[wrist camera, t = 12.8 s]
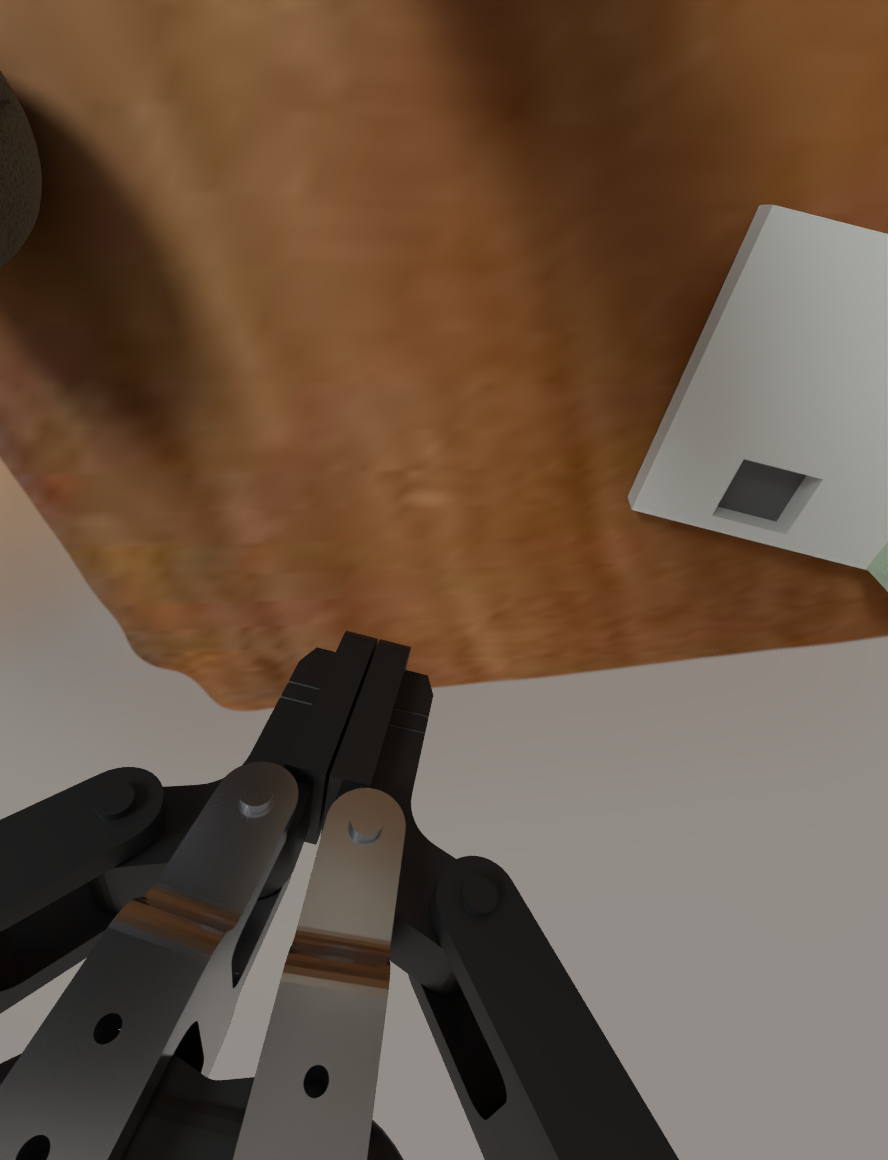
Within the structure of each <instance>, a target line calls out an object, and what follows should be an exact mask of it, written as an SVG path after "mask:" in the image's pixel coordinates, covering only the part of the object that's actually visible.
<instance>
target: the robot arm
mask: <svg viewBox="0 0 888 1160" xmlns="http://www.w3.org/2000/svg"><path fill="white" fill-rule="evenodd" d="M377 644H378V645H377ZM410 650H411V647H409V646H405V645H401V644H397V643H393V642H389V641H385V640H381V639H380V640H379V643H378V639H377V638H373V637H369V636H365V635H361V634H357V633H353V632H349V631H346V632H345V634H344V635H343V638H342V640H341V642H340V644H339V646H338V649H337V651H336V652H333V651H329V650H325V649H321V648H316V649H314V650H313V651H312V652H310V653H309V654H308V655H307V656H305V657H304V658H303V659H301V660H300V661H299V663H298V665H297V666H296V668H295V670H294V672H293V674H292V676H291V678H290V680H289V683H288V684H287V685H286V687H285V689H284V691H283V693H282V695H281V698H280V699H279V701H278V702H277V704H276V706H275V708H274V710H273V712H272V714H271V716H270V718H269V720H268V721H267V723H266V725H265V727H264V729H263V731H262V733H261V735H260V737H259V739H258V741H257V742H256V744H255V746H254V748H253V750H252V752H251V754H250V755H249V757H248V758H247V760H246V761H245V763H244V764H243V765H242V766H240V767H238V768H237V769H235V770H233V771H232V772H230V773H229V774H228V775H227V776H226V777H225V778H223V779H220V780H218V781H215V782H212V783H208V784H201V785H189V786H172V787H162V785H161V782H160V781H159V779H158V778H157V777H156V776H155V775H154V774H152V773H151V772H149V771H147V770H144V769H141V768H135V767H122V768H116V769H112V770H108V771H106V772H104V773H101V774H99V775H97V776H94V777H92V778H90V779H88V780H86V781H83V782H82V783H79V784H77V785H75V786H73V787H70V788H68V789H66V790H64V791H62V792H60V793H57V794H55V795H53V796H51V797H49V798H47V799H44V800H42V801H40V802H38V803H36V804H34V805H32V806H29V807H27V808H25V809H23V810H21V811H19V812H16V813H14V814H12V815H10V816H8V817H6V818H3V819H1V820H0V1013H2V1012H4V1011H5V1010H7V1009H8V1008H10V1007H11V1006H13V1005H14V1004H16V1003H17V1002H19V1001H21V1000H22V999H24V998H25V997H27V996H28V995H30V994H31V993H33V992H34V991H36V990H37V989H39V988H40V987H42V986H44V985H45V984H47V983H48V982H50V981H51V980H53V979H54V978H56V977H57V976H59V975H61V974H62V973H64V972H65V971H66V970H68V969H70V968H71V967H73V966H74V965H76V964H78V963H79V962H81V961H82V960H84V959H85V958H86V960H85V962H84V963H83V964H82V966H81V967H80V969H79V970H78V972H77V973H76V975H75V976H74V978H73V979H72V981H71V982H70V984H69V985H68V987H67V988H66V989H65V991H64V992H63V994H62V995H61V997H60V998H59V1000H58V1001H57V1003H56V1004H55V1006H54V1007H53V1009H52V1010H51V1012H50V1013H49V1015H48V1016H47V1017H46V1019H45V1020H44V1022H43V1023H42V1025H41V1026H40V1028H39V1029H38V1031H37V1032H36V1034H35V1035H34V1037H33V1038H32V1040H31V1041H30V1042H29V1044H28V1045H27V1047H26V1048H25V1050H24V1051H23V1053H22V1054H20V1055H18V1056H16V1057H13V1058H11V1059H9V1060H7V1061H5V1062H3V1063H1V1064H0V1160H403V1158H402V1156H401V1155H400V1153H399V1151H398V1150H397V1148H396V1146H395V1145H394V1144H393V1143H392V1141H391V1140H390V1138H389V1137H388V1136H387V1135H386V1133H385V1132H384V1131H383V1129H381V1127H380V1126H378V1125H377V1124H376V1123H375V1122H374V1121H373V1120H372V1117H373V1108H374V1100H375V1093H376V1085H377V1077H378V1069H379V1060H380V1054H381V1045H382V1038H383V1030H384V1022H385V1014H386V1006H387V998H388V990H389V979H390V961H391V962H393V963H394V964H396V965H397V966H398V967H400V968H401V969H402V970H404V971H405V972H406V973H408V975H409V979H410V981H411V984H412V987H413V989H414V992H415V994H416V996H417V999H418V1001H419V1004H420V1006H421V1008H422V1011H423V1013H424V1015H425V1018H426V1020H427V1023H428V1025H429V1027H430V1030H431V1032H432V1034H433V1037H434V1039H435V1042H436V1044H437V1047H438V1049H439V1051H440V1054H441V1056H442V1058H443V1061H444V1063H445V1066H446V1068H447V1070H448V1073H449V1075H450V1078H451V1080H452V1082H453V1085H454V1087H455V1090H456V1092H457V1094H458V1097H459V1099H460V1102H461V1104H462V1106H463V1109H464V1111H465V1114H466V1116H467V1118H468V1121H469V1123H470V1125H471V1128H472V1130H473V1133H474V1135H475V1137H476V1140H477V1142H478V1145H479V1147H480V1149H481V1152H482V1154H483V1157H484V1159H485V1160H679V1159H678V1157H677V1156H676V1154H675V1152H674V1151H673V1149H672V1147H671V1146H670V1144H669V1142H668V1141H667V1139H666V1137H665V1136H664V1134H663V1132H662V1131H661V1129H660V1128H659V1126H658V1124H657V1122H656V1121H655V1119H654V1117H653V1116H652V1114H651V1112H650V1111H649V1109H648V1107H647V1106H646V1104H645V1102H644V1101H643V1099H642V1097H641V1096H640V1094H639V1092H638V1090H637V1089H636V1087H635V1086H634V1084H633V1082H632V1081H631V1079H630V1077H629V1076H628V1074H627V1072H626V1070H625V1069H624V1067H623V1065H622V1064H621V1062H620V1060H619V1059H618V1057H617V1055H616V1054H615V1052H614V1050H613V1049H612V1047H611V1045H610V1044H609V1042H608V1040H607V1039H606V1037H605V1035H604V1034H603V1032H602V1030H601V1029H600V1027H599V1025H598V1024H597V1022H596V1020H595V1019H594V1017H593V1015H592V1014H591V1012H590V1010H589V1009H588V1007H587V1005H586V1004H585V1002H584V1000H583V999H582V997H581V995H580V994H579V992H578V990H577V989H576V987H575V985H574V983H573V982H572V980H571V978H570V977H569V975H568V973H567V972H566V970H565V968H564V967H563V965H562V963H561V962H560V960H559V959H558V957H557V955H556V953H555V952H554V950H553V949H552V947H551V945H550V943H549V942H548V940H547V938H546V937H545V935H544V933H543V932H542V930H541V928H540V927H539V925H538V923H537V922H536V920H535V919H534V917H533V915H532V913H531V912H530V910H529V908H528V907H527V905H526V903H525V902H524V900H523V898H522V897H521V895H520V893H519V892H518V890H517V888H516V887H515V885H514V883H513V881H512V880H511V879H510V877H509V876H508V874H507V873H506V872H505V871H504V870H503V869H502V868H501V867H500V866H499V865H497V864H496V863H494V862H493V861H491V860H489V859H486V858H483V857H479V856H466V857H462V858H459V859H455V858H454V857H452V856H451V855H449V854H448V853H446V852H444V851H443V850H442V849H440V848H438V847H437V846H435V845H434V844H433V843H431V842H430V841H429V840H428V839H427V838H426V837H425V836H424V835H423V834H422V833H421V831H420V830H419V829H418V827H417V825H416V823H415V821H414V818H413V815H412V811H411V797H412V791H413V787H414V782H415V778H416V773H417V768H418V763H419V759H420V754H421V749H422V745H423V740H424V735H425V731H426V726H427V721H428V717H429V712H430V708H431V703H432V698H433V693H432V689H431V685H430V682H429V678H428V676H427V675H423V674H419V673H415V672H412V671H408V670H406V667H407V663H408V659H409V655H410ZM321 830H322V833H321ZM320 833H321V839H320V843H319V847H318V851H317V854H316V858H315V862H314V866H313V870H312V873H311V877H310V881H309V885H308V889H307V893H306V897H305V901H304V904H303V908H302V912H301V916H300V919H299V923H298V927H297V930H296V934H295V938H294V941H293V943H292V946H291V947H290V950H289V953H288V956H287V960H286V963H285V966H284V970H283V973H282V977H281V981H280V984H279V988H278V992H277V996H276V1000H275V1003H274V1007H273V1011H272V1014H271V1018H270V1023H269V1026H268V1030H267V1033H266V1037H265V1041H264V1044H263V1048H262V1052H261V1056H260V1059H259V1063H258V1067H257V1071H256V1074H255V1077H254V1078H253V1077H252V1078H243V1079H232V1080H221V1081H220V1080H217V1081H216V1080H211V1079H209V1078H208V1076H209V1073H210V1071H211V1069H212V1067H213V1065H214V1062H215V1060H216V1058H217V1055H218V1053H219V1051H220V1049H221V1046H222V1044H223V1041H224V1039H225V1036H226V1034H227V1031H228V1028H229V1026H230V1023H231V1020H232V1017H233V1014H234V1010H235V1006H236V1003H237V1000H238V997H239V994H240V992H241V989H242V987H243V985H244V982H245V980H246V977H247V976H248V973H249V971H250V969H251V966H252V964H253V962H254V960H255V958H256V955H257V953H258V951H259V949H260V946H261V944H262V942H263V940H264V938H265V935H266V933H267V931H268V929H269V927H270V924H271V922H272V920H273V918H274V915H275V913H276V911H277V909H278V906H279V904H280V902H281V900H282V897H283V895H284V893H285V891H286V889H287V887H288V884H289V881H290V878H291V874H292V872H293V870H294V868H295V865H296V862H297V859H298V857H299V854H300V851H301V849H302V846H303V843H304V842H308V843H312V844H317V841H318V838H319V835H320ZM389 960H390V961H389ZM118 1029H121V1030H118Z"/></svg>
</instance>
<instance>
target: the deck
mask: <svg viewBox="0 0 888 1160" xmlns="http://www.w3.org/2000/svg"><path fill="white" fill-rule="evenodd" d="M628 500H629V503H630V507H631V510H634V511H638V512H642V513H646V514H650V515H654V516H658V517H661V518H665V519H669V520H673V521H677V522H681V523H685V524H689V525H693V526H697V527H700V528H704V529H708V530H712V531H716V532H720V533H724V534H728V535H732V536H736V537H739V538H743V539H747V540H751V541H755V542H759V543H763V544H767V545H771V546H775V547H778V548H782V549H786V550H790V551H794V552H798V553H802V554H806V555H810V556H814V557H817V558H821V559H825V560H829V561H833V562H837V563H841V564H845V565H849V566H853V567H857V568H860V569H864V570H868V571H869V572H870V573H871V574H872V575H873V576H874V577H875V579H876V580H877V581H878V582H879V583H880V584H881V585H882V586H883V587H884V588H885V589H886V591H887V592H888V234H885V233H881V232H877V231H873V230H870V229H866V228H862V227H858V226H854V225H850V224H846V223H842V222H839V221H835V220H831V219H827V218H823V217H819V216H815V215H811V214H807V213H804V212H800V211H796V210H792V209H788V208H784V207H780V206H776V205H759V207H758V209H757V211H756V213H755V216H754V218H753V220H752V222H751V224H750V227H749V229H748V231H747V233H746V236H745V238H744V240H743V242H742V244H741V247H740V249H739V251H738V253H737V255H736V258H735V260H734V262H733V264H732V267H731V269H730V271H729V273H728V275H727V278H726V280H725V282H724V284H723V286H722V289H721V291H720V293H719V295H718V298H717V300H716V302H715V304H714V306H713V309H712V311H711V313H710V315H709V317H708V320H707V322H706V324H705V326H704V329H703V331H702V333H701V335H700V337H699V340H698V342H697V344H696V346H695V348H694V351H693V353H692V355H691V357H690V359H689V362H688V364H687V366H686V368H685V371H684V373H683V375H682V377H681V379H680V382H679V384H678V386H677V388H676V390H675V393H674V395H673V397H672V399H671V402H670V404H669V406H668V408H667V410H666V413H665V415H664V417H663V419H662V421H661V424H660V426H659V428H658V430H657V433H656V435H655V437H654V439H653V441H652V444H651V446H650V448H649V450H648V452H647V455H646V457H645V459H644V461H643V464H642V466H641V468H640V470H639V472H638V475H637V477H636V479H635V481H634V483H633V486H632V488H631V490H630V492H629V494H628Z"/></svg>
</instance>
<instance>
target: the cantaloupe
mask: <svg viewBox="0 0 888 1160" xmlns="http://www.w3.org/2000/svg"><path fill="white" fill-rule="evenodd" d="M41 193H42V171H41V164H40V159H39V155H38V149H37V144H36V141H35V138H34V135H33V132H32V129H31V126H30V124H29V121H28V119H27V117H26V114H25V112H24V110H23V108H22V106H21V104H20V102H19V101H18V99H17V97H16V95H15V94H14V92H13V90H12V89H11V87H10V85H9V84H8V82H7V80H6V79H5V77H4V76H3V74H2V73H1V71H0V270H1V269H2V268H3V267H4V266H5V265H6V264H7V263H8V262H9V261H10V260H11V259H12V258H13V257H14V256H15V255H16V254H17V253H18V251H19V250H20V249H21V247H22V246H23V244H24V243H25V241H26V239H27V238H28V236H29V235H30V233H31V231H32V229H33V227H34V225H35V223H36V220H37V217H38V214H39V209H40V201H41Z"/></svg>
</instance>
